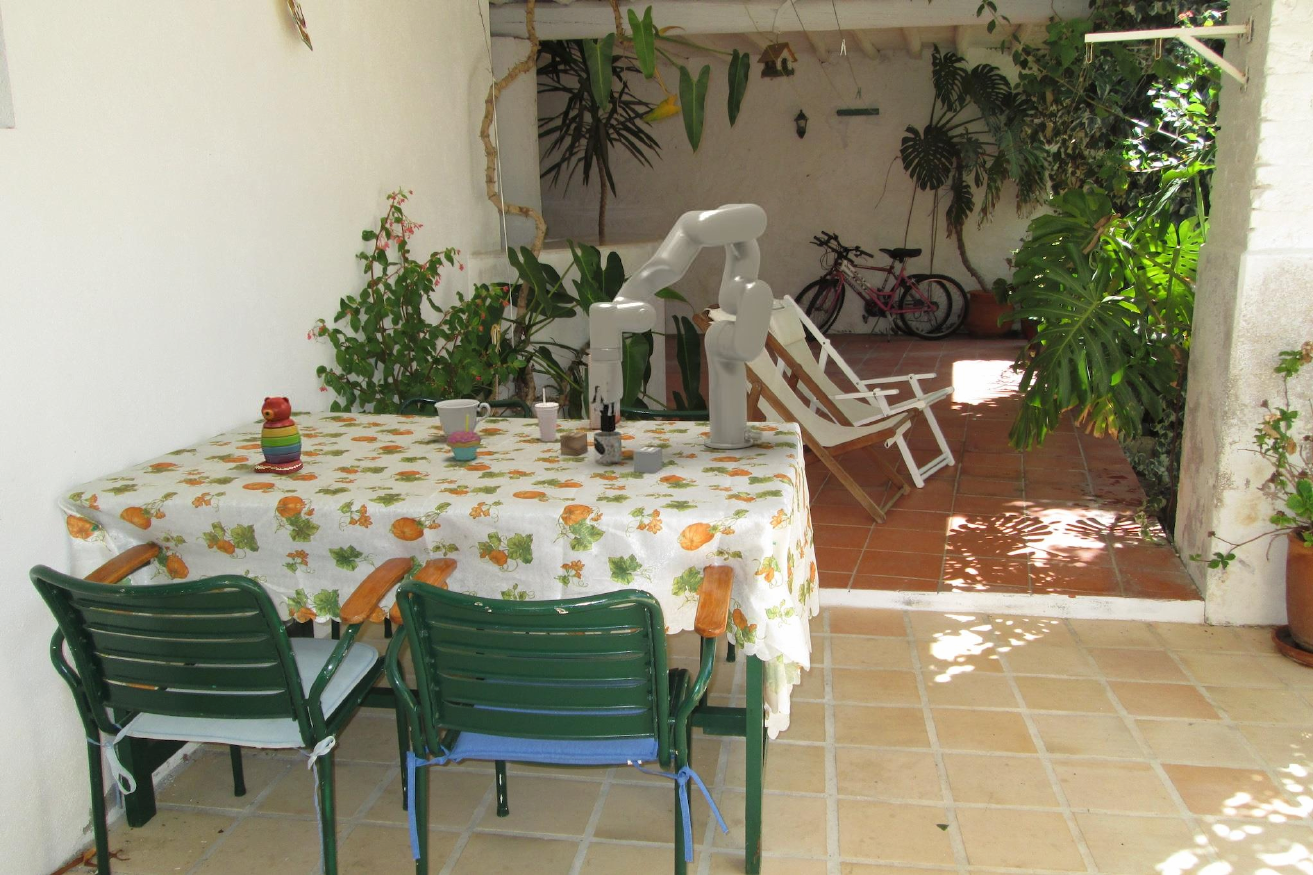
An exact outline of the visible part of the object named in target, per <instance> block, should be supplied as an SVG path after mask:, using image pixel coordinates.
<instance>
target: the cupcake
mask: <svg viewBox="0 0 1313 875" xmlns="http://www.w3.org/2000/svg"><path fill="white" fill-rule="evenodd" d="M468 414H469V412H468ZM468 414H467V415H466V429H465V431H457V432H453V433H452V434H451V435H449V436H448V435H447V438H446V442H445V445H446V446H447V447H448V448H450V449H451V451H452V453H453V455H454V458H455V460H457V461H461V462H462V461H471V460H474V459H475V458H476V454H477V452H478V451H477V450H478V448H479V446H480V445H481V441H482V437H481V436H480V435H479V434H478V433H477V432H475V431H474V432H472V431H470V430H468V424H469V415H468Z"/></svg>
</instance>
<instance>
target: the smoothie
mask: <svg viewBox="0 0 1313 875" xmlns="http://www.w3.org/2000/svg"><path fill="white" fill-rule="evenodd" d="M542 400H543V402H540V403H536V404H535V405H534V410H535V411H536V416H537V422H538V428H539V433H540V438H541V441H542V442H548V443H549V442H555V441H556V438H557V436H556V435H557V422H558V409H559V408H560V406H559V403H557V402H546V390H545V388H544V387H543V388H542Z"/></svg>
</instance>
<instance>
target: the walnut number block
mask: <svg viewBox="0 0 1313 875" xmlns="http://www.w3.org/2000/svg"><path fill="white" fill-rule="evenodd" d="M559 439H560V440H559V441H560V455H561V456H571V457H572V456H573V457H580V456H582V455H584V454H587V453H588V452H589V450H588V449H589V446H588V444H589V443H588V433H587V432H583V431H582V432H581V431H567V432H566V433H563V434H560V435H559Z"/></svg>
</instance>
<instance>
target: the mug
mask: <svg viewBox="0 0 1313 875" xmlns="http://www.w3.org/2000/svg"><path fill="white" fill-rule="evenodd" d="M622 444H623V443H622V433H621V432H620V431H616V430H615V431H613V432H602V431H597V432H595V433H593V448H594V449H593V450H594V462H595V463H597V464H600V465H601V464H602V465H604V464H605V465H610V464H617V463H621V462H623V448H622Z"/></svg>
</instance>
